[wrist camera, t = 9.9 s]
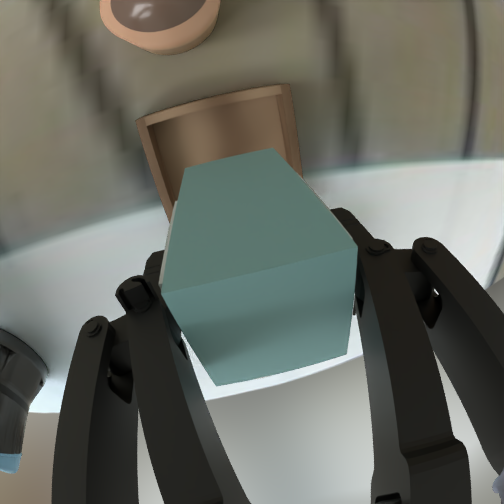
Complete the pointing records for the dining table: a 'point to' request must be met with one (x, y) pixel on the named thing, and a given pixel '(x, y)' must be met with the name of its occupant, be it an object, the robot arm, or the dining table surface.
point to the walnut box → (217, 134)
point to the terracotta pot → (161, 23)
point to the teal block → (257, 269)
